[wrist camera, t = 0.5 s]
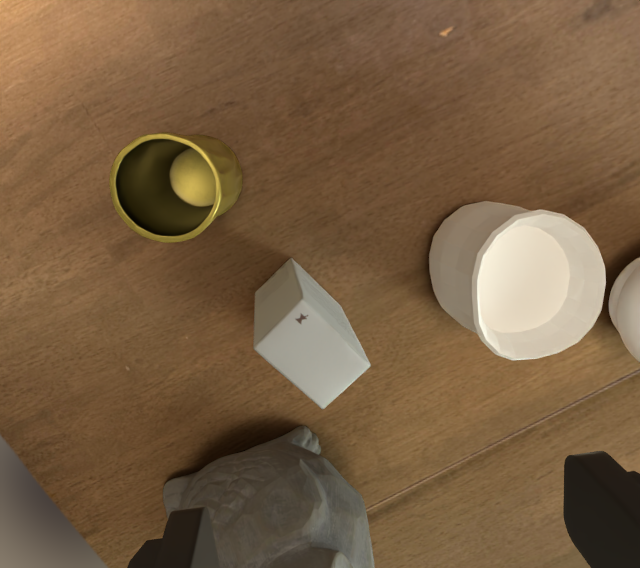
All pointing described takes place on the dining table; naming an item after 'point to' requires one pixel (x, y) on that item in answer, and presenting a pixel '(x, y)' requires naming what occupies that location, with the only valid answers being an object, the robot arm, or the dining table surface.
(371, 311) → the dining table surface
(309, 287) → the cosmetic box
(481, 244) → the cup
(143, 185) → the vase
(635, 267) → the vase
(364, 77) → the dining table surface
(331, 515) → the figurine
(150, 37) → the dining table surface
